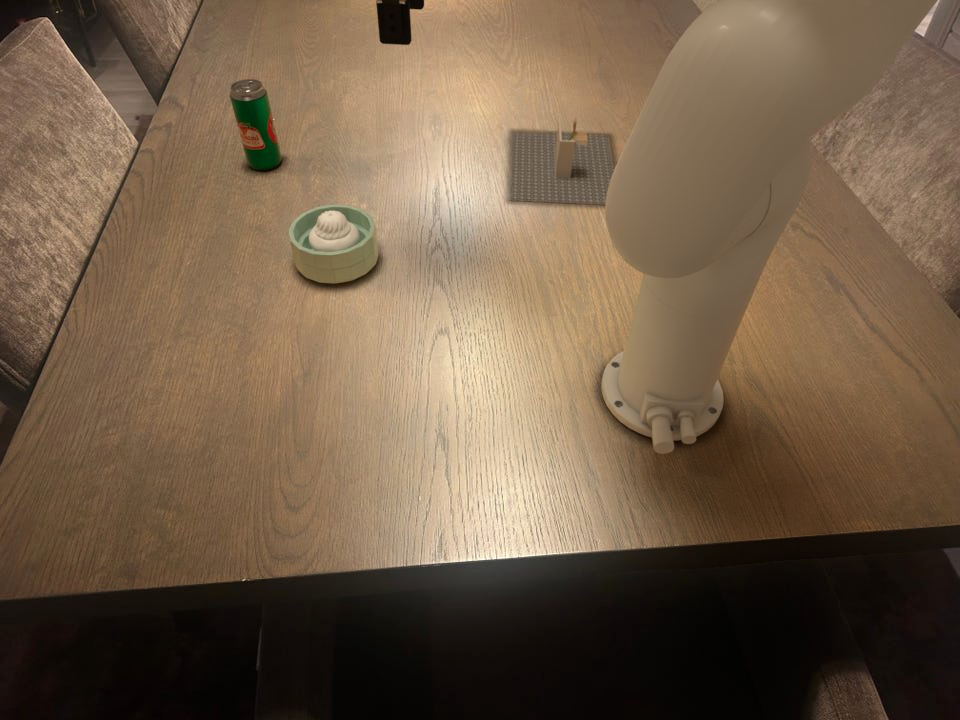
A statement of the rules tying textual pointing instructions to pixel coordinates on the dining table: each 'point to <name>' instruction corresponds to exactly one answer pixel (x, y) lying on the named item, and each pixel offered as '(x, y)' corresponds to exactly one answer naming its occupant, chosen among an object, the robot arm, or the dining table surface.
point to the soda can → (255, 124)
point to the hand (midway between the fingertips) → (403, 24)
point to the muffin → (333, 233)
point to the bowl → (336, 263)
